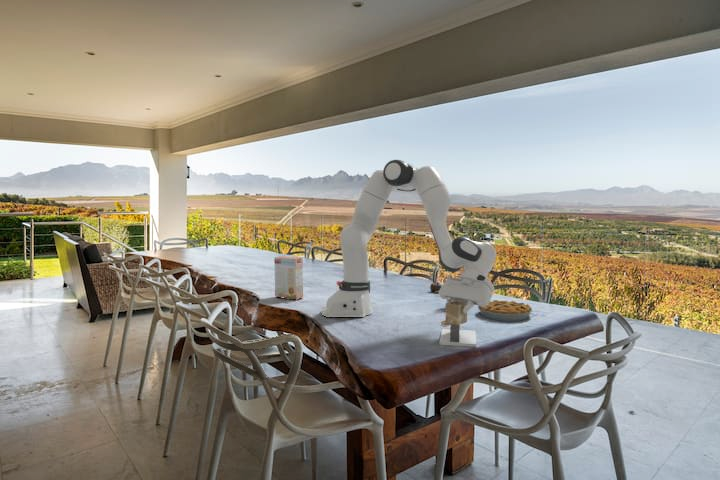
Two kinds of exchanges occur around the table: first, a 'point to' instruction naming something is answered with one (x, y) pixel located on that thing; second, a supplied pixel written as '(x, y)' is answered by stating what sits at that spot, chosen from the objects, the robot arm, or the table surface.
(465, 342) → the base plate
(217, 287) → the table surface
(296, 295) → the cracker box
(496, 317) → the pie
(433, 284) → the kendama
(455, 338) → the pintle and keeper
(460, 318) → the wooden pencil holder
